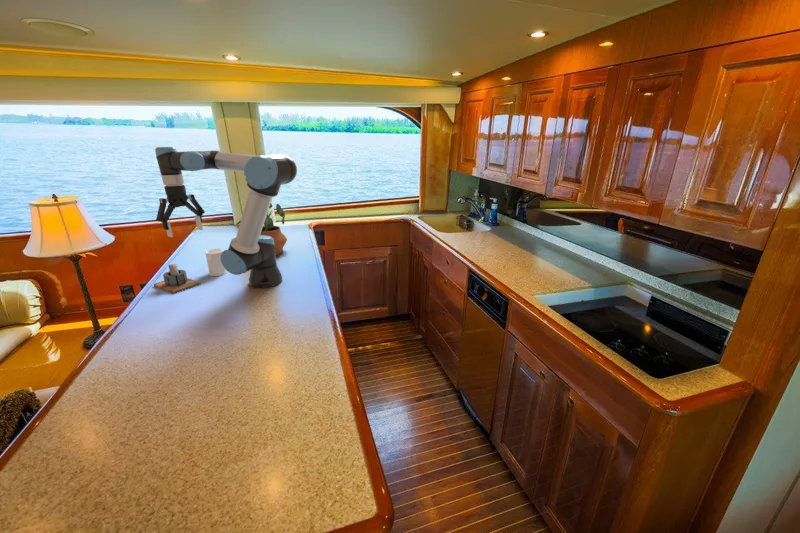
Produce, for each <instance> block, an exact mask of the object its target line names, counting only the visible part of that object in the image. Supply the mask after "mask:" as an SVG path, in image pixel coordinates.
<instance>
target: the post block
mask: <svg viewBox="0 0 800 533" xmlns="http://www.w3.org/2000/svg"><path fill="white" fill-rule="evenodd" d="M168 270H169V271H170V274H171V275H177V274H179V272H178V270H179V268H178V265H177V264H176V263H172V264H169V265H168ZM187 280H188V281H187V283H185V284H183V285H180V286H174V287H169V286H166V285H165V281H164V280H161V281H159V282H155V283H153V287H156V288H158V289H159V290H160V289H161V290H163V291H167V292H169V293H171V292H172V293H171V294H174V293H175V294H178V293H181V292H182V290H183V291H185V289H186V290H188V288H189V289H191V287H192V288H194V287H197V286H200V285H201V282H200V281H197V280H195V279H192V278H188V277H187ZM199 284H200V285H199ZM196 285H197V286H196ZM180 291H181V292H180ZM177 292H178V293H177Z"/></svg>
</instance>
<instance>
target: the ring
mask: <svg viewBox="0 0 800 533" xmlns="http://www.w3.org/2000/svg"><path fill="white" fill-rule="evenodd" d="M178 272H179V274H177V275H171V274H170V270H169V271H166V272H164V274H163V275H162V277H163V281H165V285H166V286H169V287H174V286H180V285H183V284H185V283H187V281H188V280H187V278H188V276H187V273H186V270H184V269H178Z"/></svg>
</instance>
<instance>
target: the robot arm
mask: <svg viewBox="0 0 800 533" xmlns="http://www.w3.org/2000/svg"><path fill="white" fill-rule="evenodd" d="M154 151H155V158H156V160H157V165H158V168H159V173H160V176H161V179H162V184H163V187H164V192H165V194H166V198H165V197H164V198H163V197H162V198H161V197H160V198H159V200H158V201H159V206H158V210H157V214H156V221H155V222H158V223H159V222H160V223H162V227H163V229H164V230H165V232H166V234H167V237H170V238H173V237H174V234H173V230H172V226H171V222H170V221H169V219H170V218H171V215H172V214H173V212H174V210H175V209H176V208H180V207H186V208H187V209H188V210H189V211H191V212H192V213H193V214H195V215H194V220H195V223H196V229H197V230H199V231H203V225H202V224H203V214H206V211H205V210H204V209H203V207H202V205H200V203H199V202H198V200H196V197H195V195H194V194H191V193H189V194H188V195H187V190H186V189H187V188H186V186H185V185H184V184H185V180H184V176H183V172H182V171H184V172H186V171H187V172H189V171H190V172H197V171H203V170H222V171H228V172H229V171H231V172H238V173H243V175H244V177H245V181H246V187H247V188H248V189H249V190H248V195H247V198H246V202H245V204H244V205H245V206H244V209H243V212H242V216H241V220H240V221H241V222H240V223H239V224H238V225H239V226H238V229H237V233H236V236H235V237H233V238H232V239H231V240H230V243H229V246H228V248H227V249H223V252H222V253H221V256H220V259H221V263H222V265H223V267H224V268H225V269H226V270H227V271H228V272H227V273H229V274H232V275H233V276H234V275H235V276H240V275H243V274H245V273H247V272H249V271H250V272H249V278H248V283H249V286H251V287H253V288H259V289H260V288H262V289H263V288H265V289H266V288H270V287H275V286H276V285H277V286H278V284H281V283H282V281H283V276H282V273H281V271H280V269H279V267H278V264H277V255H276V254H275V244H274V239H273V238H272V237H271V236H265V235H260V234H261V231H262V228H263V226H264V222H265V218H266V215H267V212H268V213H269V209H270V208H269V206H270V203H271V202H272V199H273V198H274V197H278V194H279V192H280V188H281V186H282V185H287V184H290V183H291V182H293V181H294V179H296V176H297V173H298V168H297V164H296V162H295V161H294V160H293V159H292V158H291V157H290V156H288V155H286V154H269V155H268V154H259V155H251V154H244V153H243V154H241V153H236V152H235V153H234V152H233V153H232V152H224V151H220V150H202V151H201V150H200V151H198V150H197V151H196V150H195V151H192V150H191V151H190V150H189V151H178V150H177V148H176V147H175V146H159V147H158V146H157V147H155V149H154ZM188 200H189V201H190V202H188ZM167 203H168V205H167ZM271 204H272V203H271Z"/></svg>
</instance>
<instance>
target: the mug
mask: <svg viewBox="0 0 800 533" xmlns="http://www.w3.org/2000/svg"><path fill="white" fill-rule="evenodd" d="M223 251H224V249H222V248H213V249H212V248H210V249H208V250H206V251H205V252H204V253H205V258H206V263H207V267H208V275H209V276H211V277H219V276H223V275H226V274H227V273H229V272H228V271H227V270H226V269H225V268H224V267H223V265H222V263H221V259H220V256H221V253H222V252H223Z"/></svg>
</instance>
